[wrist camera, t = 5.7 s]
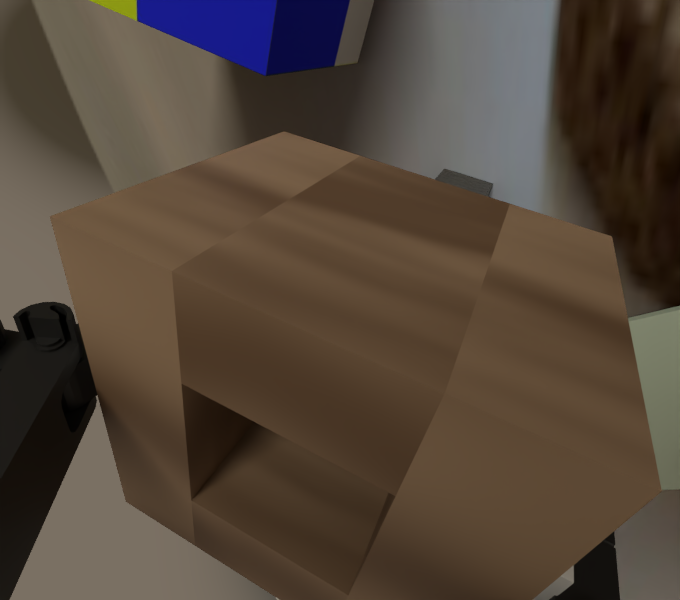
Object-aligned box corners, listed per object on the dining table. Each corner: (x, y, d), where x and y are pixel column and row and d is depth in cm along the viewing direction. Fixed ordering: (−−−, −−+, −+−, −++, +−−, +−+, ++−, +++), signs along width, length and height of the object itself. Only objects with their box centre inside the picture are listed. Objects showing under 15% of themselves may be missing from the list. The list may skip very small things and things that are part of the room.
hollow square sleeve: (284, 131, 14) (50, 216, 8) (612, 236, 11) (661, 491, 5) (265, 353, 20) (126, 501, 13) (476, 453, 17) (423, 691, 11)
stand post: (444, 168, 26) (412, 204, 20) (493, 183, 25) (473, 224, 20) (430, 213, 28) (397, 257, 22) (474, 228, 27) (452, 277, 21)
